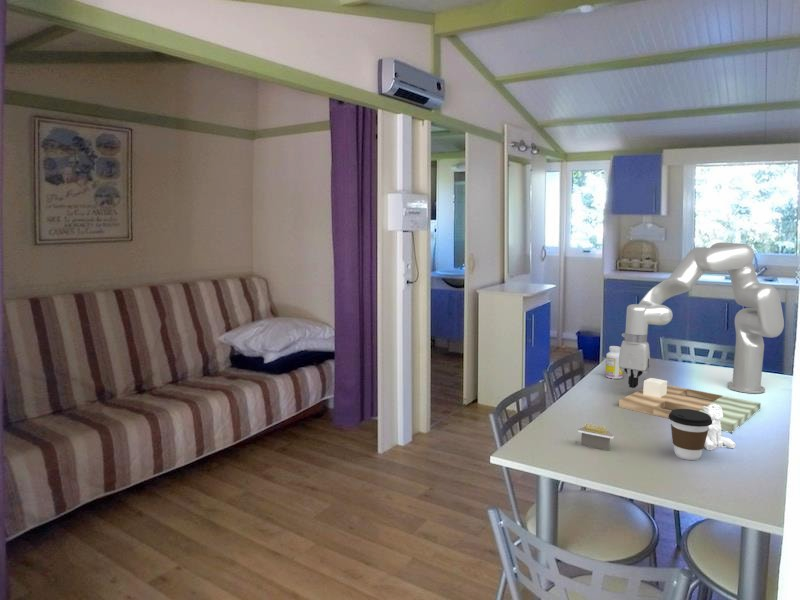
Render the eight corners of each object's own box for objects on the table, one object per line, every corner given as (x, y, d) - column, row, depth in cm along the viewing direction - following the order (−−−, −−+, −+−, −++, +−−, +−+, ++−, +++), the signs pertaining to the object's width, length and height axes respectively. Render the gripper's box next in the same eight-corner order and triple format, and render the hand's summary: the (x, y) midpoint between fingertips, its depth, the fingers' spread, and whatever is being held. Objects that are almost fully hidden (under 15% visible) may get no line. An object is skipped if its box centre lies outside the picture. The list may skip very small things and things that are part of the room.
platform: (570, 435, 184) (571, 415, 183) (632, 448, 175) (634, 426, 174) (558, 448, 174) (559, 426, 173) (623, 462, 165) (624, 439, 164)
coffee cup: (689, 466, 161) (692, 422, 160) (657, 451, 171) (659, 410, 169) (718, 460, 165) (722, 417, 164) (685, 446, 175) (688, 406, 174)
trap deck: (655, 388, 234) (655, 382, 234) (760, 409, 210) (760, 402, 209) (618, 406, 212) (619, 399, 211) (731, 432, 187) (732, 425, 186)
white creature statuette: (707, 451, 172) (711, 410, 170) (687, 440, 180) (690, 401, 178) (736, 449, 174) (740, 408, 172) (715, 438, 182) (718, 399, 180)
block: (649, 390, 223) (650, 377, 222) (666, 394, 219) (667, 380, 218) (643, 394, 218) (643, 380, 218) (659, 397, 214) (660, 384, 214)
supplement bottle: (620, 375, 254) (621, 345, 252) (624, 379, 247) (626, 348, 246) (603, 375, 255) (605, 345, 253) (607, 379, 248) (609, 348, 246)
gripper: (611, 336, 224) (609, 385, 226) (652, 342, 214) (649, 393, 216) (620, 334, 229) (617, 381, 232) (660, 339, 219) (657, 389, 221)
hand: (633, 386), depth 224 cm, fingers closed
